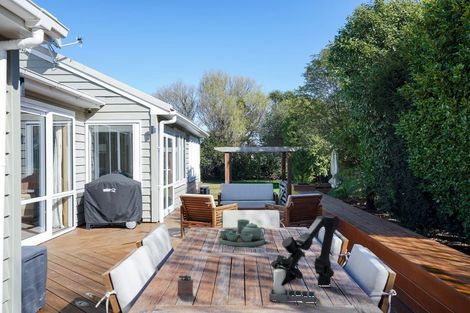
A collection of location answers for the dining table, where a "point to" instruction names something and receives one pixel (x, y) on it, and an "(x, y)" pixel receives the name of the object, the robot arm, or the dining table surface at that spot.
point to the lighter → (185, 285)
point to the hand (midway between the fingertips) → (277, 283)
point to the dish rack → (289, 296)
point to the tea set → (242, 235)
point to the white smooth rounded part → (279, 282)
